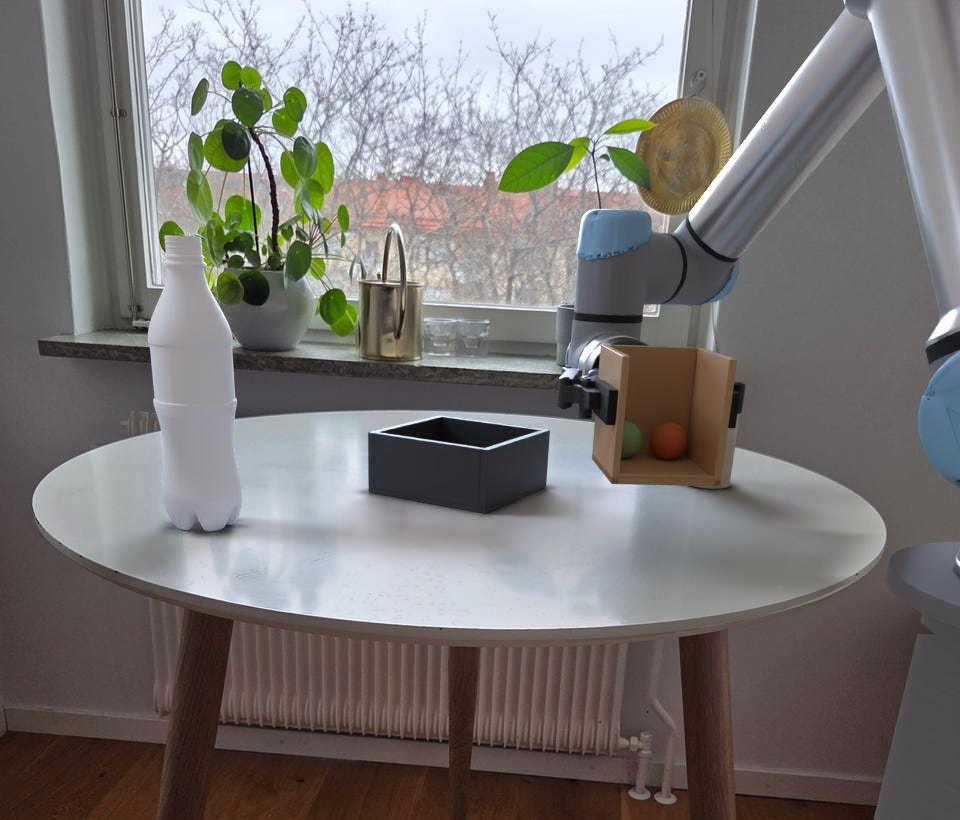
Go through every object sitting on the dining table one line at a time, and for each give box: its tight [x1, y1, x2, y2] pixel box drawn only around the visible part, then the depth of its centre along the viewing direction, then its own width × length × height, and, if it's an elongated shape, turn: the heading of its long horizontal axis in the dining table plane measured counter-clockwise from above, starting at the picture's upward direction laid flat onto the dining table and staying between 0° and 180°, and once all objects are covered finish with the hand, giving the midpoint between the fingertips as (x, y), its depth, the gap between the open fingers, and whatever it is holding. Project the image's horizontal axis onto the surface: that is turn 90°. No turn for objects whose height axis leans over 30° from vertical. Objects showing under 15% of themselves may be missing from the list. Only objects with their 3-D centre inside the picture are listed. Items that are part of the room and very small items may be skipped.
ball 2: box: [650, 423, 687, 460], centre depth 82 cm, size 3×3×3 cm
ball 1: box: [621, 421, 642, 458], centre depth 82 cm, size 3×3×3 cm
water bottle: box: [147, 234, 243, 532], centre depth 83 cm, size 7×7×25 cm
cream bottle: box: [694, 414, 741, 490], centre depth 110 cm, size 6×6×10 cm
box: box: [591, 344, 738, 487], centre depth 79 cm, size 10×9×10 cm
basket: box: [367, 414, 551, 514], centre depth 103 cm, size 15×15×6 cm
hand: (673, 409), depth 74 cm, fingers closed on box, 9 cm apart
